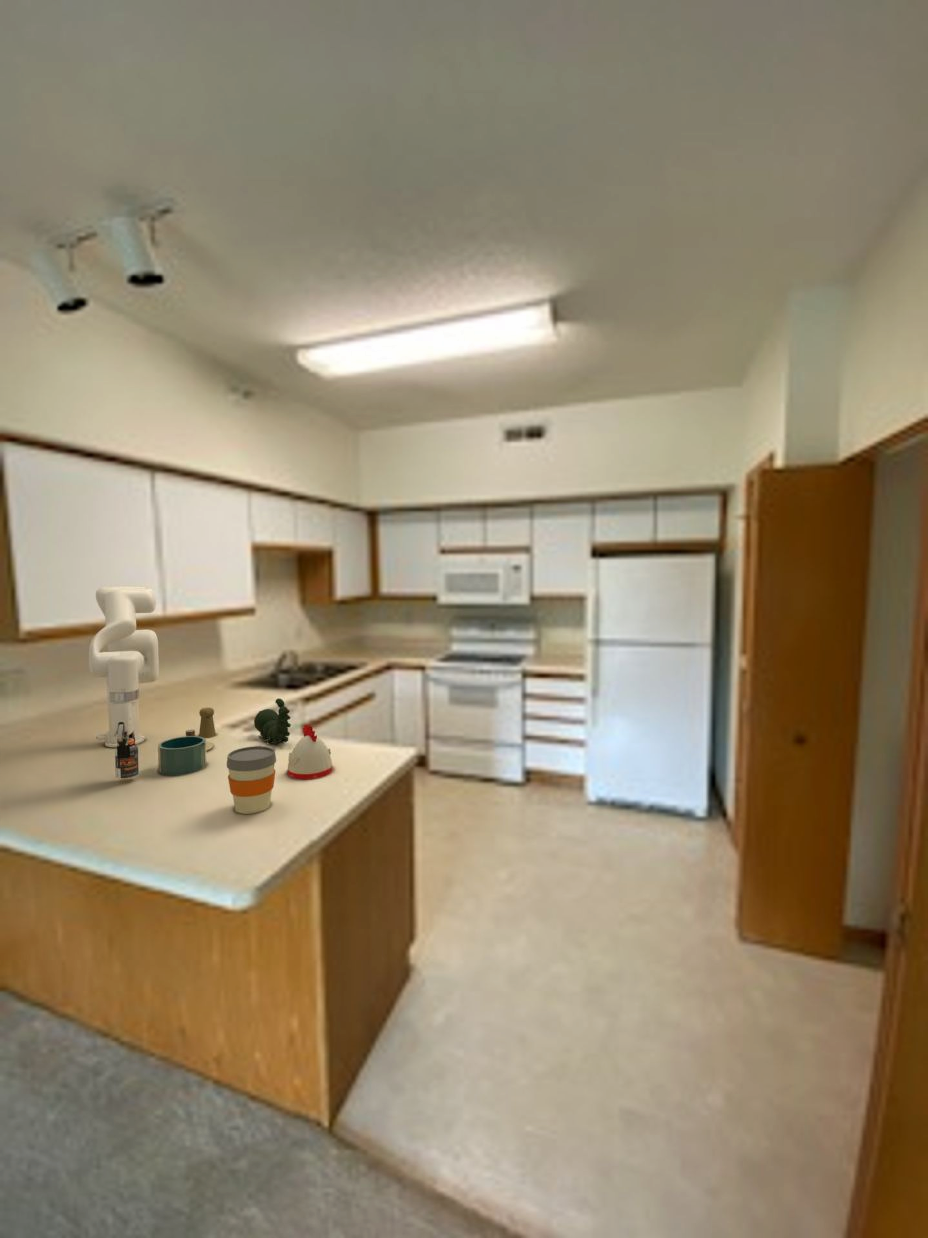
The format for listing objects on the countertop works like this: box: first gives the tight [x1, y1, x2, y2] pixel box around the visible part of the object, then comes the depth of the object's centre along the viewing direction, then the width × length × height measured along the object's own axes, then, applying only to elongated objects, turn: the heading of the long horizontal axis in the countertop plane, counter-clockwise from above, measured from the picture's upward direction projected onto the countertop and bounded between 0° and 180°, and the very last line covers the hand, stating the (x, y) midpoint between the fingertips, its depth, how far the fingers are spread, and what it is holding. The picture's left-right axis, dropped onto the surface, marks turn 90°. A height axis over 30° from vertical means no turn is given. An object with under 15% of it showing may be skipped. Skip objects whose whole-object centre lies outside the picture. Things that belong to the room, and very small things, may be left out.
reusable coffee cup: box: [226, 745, 277, 815], centre depth 144 cm, size 13×13×15 cm
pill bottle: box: [114, 738, 140, 780], centre depth 160 cm, size 6×6×11 cm
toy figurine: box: [253, 698, 292, 745], centre depth 202 cm, size 9×19×25 cm
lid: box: [185, 729, 214, 752], centre depth 190 cm, size 15×15×7 cm
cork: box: [198, 707, 217, 739], centre depth 207 cm, size 6×6×11 cm
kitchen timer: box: [287, 724, 333, 780], centre depth 170 cm, size 14×14×15 cm
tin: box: [157, 735, 207, 776], centre depth 172 cm, size 14×14×8 cm
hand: (126, 753), depth 160 cm, fingers closed on pill bottle, 6 cm apart
